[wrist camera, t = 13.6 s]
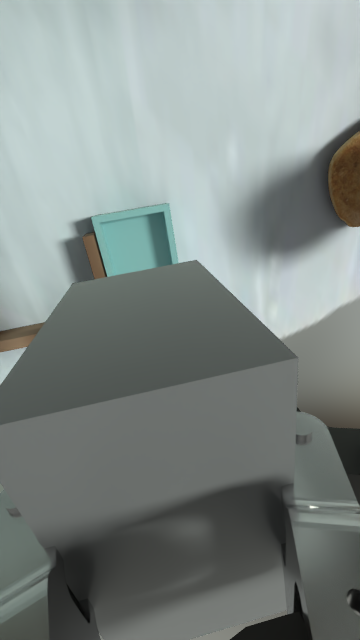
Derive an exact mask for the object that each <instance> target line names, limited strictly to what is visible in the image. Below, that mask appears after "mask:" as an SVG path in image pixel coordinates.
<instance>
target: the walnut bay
mask: <svg viewBox="0 0 360 640" xmlns="http://www.w3.org/2000/svg"><path fill="white" fill-rule="evenodd" d="M82 238H83V242H84V245H85V248H86V252H87V255H88V258H89V262H90V265H91V269H92V272H93V275H94V279H99V278H104V277H107V274H106V270H105V266H104V263H103V259H102V255H101V252H100V248H99V244H98V241H97V237H96V233H95V232H93V233H87V234H86V235H85V236H83V237H82ZM44 323H45V322H44ZM44 323H39V324H34V325H29V326H25V327H20V328H15V329H10V330H5V331H0V352H4V351H9V350H14V349H19V348H23V347H28V346H29V344H30V343H31V342H32V340H33V339H34V337H35V336H36V335H37V333H38V332H39V330H40V329H41V328H42V326H43V325H44Z"/></svg>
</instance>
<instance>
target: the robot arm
mask: <svg viewBox="0 0 360 640" xmlns="http://www.w3.org/2000/svg"><path fill="white" fill-rule="evenodd" d="M281 503H282V509H283V515H284V523H285V533H286V543H283V544H281V559H282V566H283V574H284V583H285V596H286V606H287V614H288V615H285V616H281V617H278V618H275V619H271V620H268V621H264V622H261V623H258V624H254V625H251V626H248V627H245V628H244V629H243V630H242V631H240V632H239V633H238V634H236V635H235V636H234V637H233V638H232V639H230V640H360V429H351V428H332V427H327V426H325V424H324V423H323V422H322V421H320V420H319V419H318V418H316V417H314V416H312V415H310V414H307V413H304V412H301V411H300V410H299V409H298V408H297V414H296V443H295V472H294V483H291V484H287V485H284V486H281ZM0 640H101V639H100V636H99V632H98V628H97V623H96V617H95V611H94V607H93V606H92V604H91V603H90V601H89V599H88V598H87V599H84V600H80V601H78V600H77V598H76V597H75V595H74V594H73V592H72V591H71V589H70V588H69V586H68V585H67V583H66V577H65V570H64V559H63V558H62V556H61V555H60V553H59V551H58V550H57V548H56V546H52V547H48V548H43V547H42V545H41V544H40V542H39V541H38V539H37V538H36V536H35V535H34V533H33V532H32V530H31V529H30V527H29V526H28V524H27V523H26V521H25V520H24V518H23V517H22V515H21V514H20V512H19V511H18V509H17V508H16V506H15V505H14V503H13V502H12V500H11V498H10V497H9V495H8V494H7V492H6V491H5V489H4V490H3V491H2V492H1V493H0Z"/></svg>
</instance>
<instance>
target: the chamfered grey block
mask: <svg viewBox="0 0 360 640" xmlns="http://www.w3.org/2000/svg"><path fill="white" fill-rule="evenodd" d="M297 385H298V357H297V356H296V355H295V354H294V353H293V352H292V351H291V350H290V349H289V348H288V347H287V346H286V345H285V344H284V343H283V342H282V341H281V340H280V339H279V338H277V337H276V336H275V335H274V334H273V333H272V332H271V331H270V330H269V329H268V328H267V327H266V326H265V325H264V324H263V323H262V322H261V321H260V320H259V319H258V318H257V317H256V316H255V315H254V314H252V313H251V312H250V311H249V310H248V309H247V308H246V307H245V306H244V305H243V304H242V303H241V302H240V301H239V300H238V299H237V298H236V297H235V296H234V295H233V294H232V293H231V292H230V291H229V290H227V289H226V288H225V287H224V286H223V285H222V284H221V283H220V282H219V281H218V280H217V279H216V278H215V277H214V276H213V275H212V274H211V273H210V272H209V271H208V270H207V269H206V268H205V267H204V266H202V265H201V264H200V263H199V262H198V261H197V260H193V261H188V262H183V263H178V264H172V265H167V266H162V267H157V268H151V269H146V270H141V271H136V272H130V273H125V274H120V275H115V276H109V277H104V278H99V279H94V280H89V281H83V282H78V283H73V284H72V285H71V287H70V288H69V289H68V291H67V292H66V294H65V295H64V297H63V298H62V299H61V301H60V302H59V304H58V305H57V306H56V308H55V309H54V311H53V312H52V313H51V315H50V316H49V318H48V319H47V320H46V322H45V323H44V325H43V326H42V328H41V329H40V330H39V332H38V333H37V335H36V336H35V337H34V339H33V340H32V342H31V343H30V344H29V346H28V347H27V349H26V350H25V351H24V353H23V354H22V356H21V357H20V359H19V360H18V361H17V363H16V364H15V366H14V367H13V368H12V370H11V371H10V373H9V374H8V375H7V377H6V378H5V380H4V381H3V382H2V384H1V385H0V483H1V485H2V486H3V488H4V489H5V491H6V492H7V494H8V495H9V497H10V498H11V500H12V502H13V503H14V505H15V506H16V508H17V509H18V511H19V512H20V514H21V515H22V517H23V518H24V520H25V521H26V523H27V524H28V526H29V527H30V529H31V530H32V532H33V533H34V535H35V536H36V538H37V539H38V541H39V542H40V544H41V545H42V547H43V548H48V547H52V546H56V548H57V550H58V551H59V553H60V555H61V556H62V558H63V559H64V570H65V577H66V583H67V585H68V586H69V588H70V589H71V591H72V592H73V594H74V595H75V597H76V598H77V600H78V601H80V600H84V599H87V598H88V599H89V601H90V603H91V604H92V606H93V607H94V611H95V617H96V623H97V628H98V632H99V633H100V635H101V636H102V638H103V639H104V640H190V639H193V638H196V637H199V636H203V635H206V634H210V633H213V632H216V631H220V630H223V629H226V628H230V627H233V626H236V625H240V624H243V623H246V622H249V621H253V620H256V619H260V618H263V617H266V616H269V615H273V614H276V613H279V612H282V611H286V610H287V606H286V596H285V583H284V574H283V566H282V559H281V544H283V543H286V533H285V523H284V515H283V509H282V503H281V486H284V485H287V484H291V483H294V472H295V443H296V414H297Z"/></svg>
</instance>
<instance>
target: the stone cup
mask: <svg viewBox="0 0 360 640" xmlns="http://www.w3.org/2000/svg"><path fill="white" fill-rule="evenodd" d="M328 186H329V193H330V197H331V201H332V203H333V206H334V209H335V212H336V214H337V215H338V216H339V218H340V219H341V220H343V221H345V222H346V224H347V225H348V226H350V227H359V226H360V131H358V132H357V133H356V134H354V135H353V136H352V137H351V138H350V139H348V140H347V141H346V142H345V143H344V144H343V145H342V146H341V147H340V148H339V149H338V151H337V152H336V153H335V154H334V156H333V158H332V160H331V162H330V165H329V171H328Z"/></svg>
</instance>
